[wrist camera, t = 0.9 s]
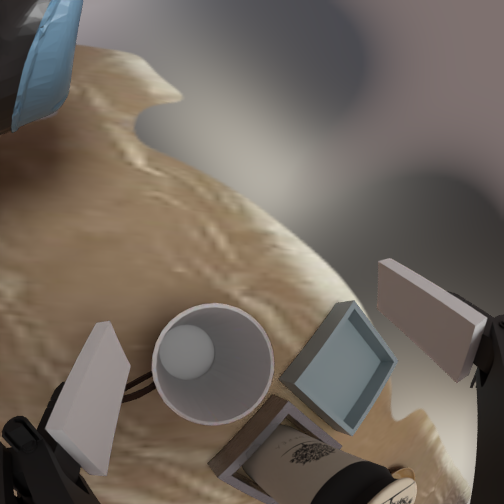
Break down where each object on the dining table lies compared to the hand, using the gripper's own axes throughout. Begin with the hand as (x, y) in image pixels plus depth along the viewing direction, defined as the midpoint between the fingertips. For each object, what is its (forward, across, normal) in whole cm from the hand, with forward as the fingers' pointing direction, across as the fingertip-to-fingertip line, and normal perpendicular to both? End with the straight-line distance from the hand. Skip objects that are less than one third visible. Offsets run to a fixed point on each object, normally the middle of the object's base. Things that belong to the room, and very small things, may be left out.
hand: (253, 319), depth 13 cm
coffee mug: (+12, -8, -9) cm, 17 cm away
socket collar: (+7, 0, -24) cm, 25 cm away
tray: (+14, +10, -20) cm, 26 cm away
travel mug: (+7, 0, -24) cm, 25 cm away
